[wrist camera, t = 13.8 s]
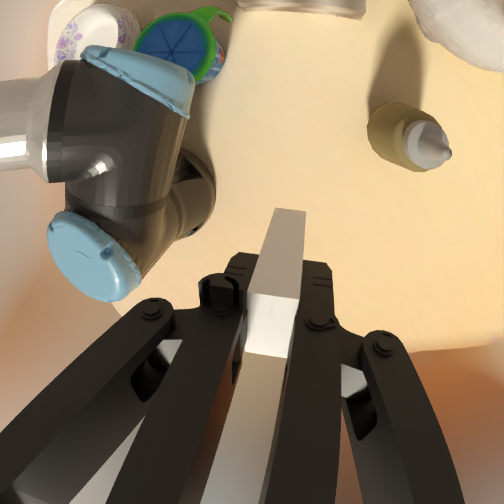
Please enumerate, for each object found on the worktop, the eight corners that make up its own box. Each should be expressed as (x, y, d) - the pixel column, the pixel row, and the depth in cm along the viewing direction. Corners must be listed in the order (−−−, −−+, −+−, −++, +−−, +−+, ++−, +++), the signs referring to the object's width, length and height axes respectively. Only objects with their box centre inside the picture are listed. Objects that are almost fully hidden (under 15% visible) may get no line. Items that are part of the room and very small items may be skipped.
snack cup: (188, 120, 37) (153, 127, 28) (146, 78, 34) (105, 78, 25) (265, 47, 29) (250, 29, 21) (215, 6, 27) (187, -17, 18)
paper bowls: (157, 73, 33) (127, 71, 27) (88, 101, 37) (57, 106, 30) (148, -2, 26) (120, -15, 19) (81, 33, 29) (51, 30, 23)
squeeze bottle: (354, 107, 31) (392, 109, 16) (407, 99, 29) (474, 101, 13) (369, 162, 35) (410, 207, 20) (419, 153, 32) (484, 192, 17)
